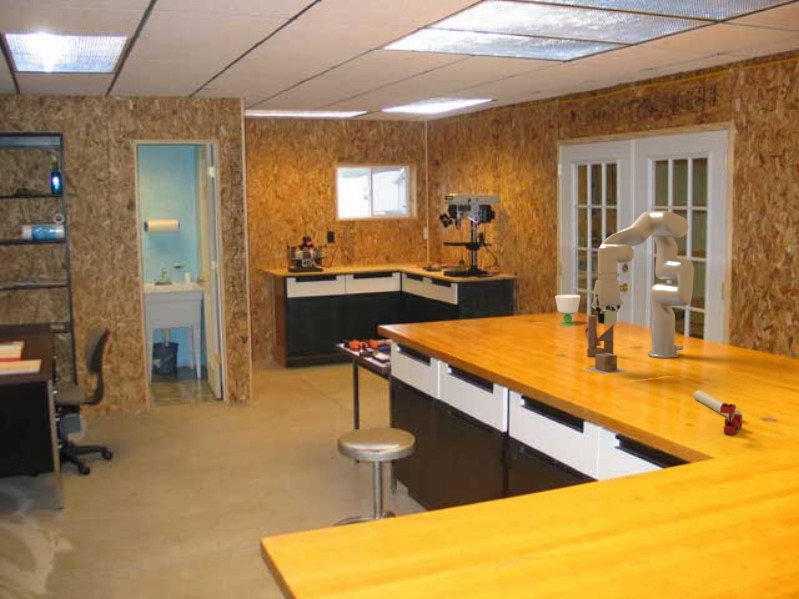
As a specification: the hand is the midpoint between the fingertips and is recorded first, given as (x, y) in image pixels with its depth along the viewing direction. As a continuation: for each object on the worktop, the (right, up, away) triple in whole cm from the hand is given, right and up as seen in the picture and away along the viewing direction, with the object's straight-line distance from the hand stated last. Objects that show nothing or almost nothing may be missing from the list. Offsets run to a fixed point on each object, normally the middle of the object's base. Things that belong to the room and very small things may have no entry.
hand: (607, 322), depth 329 cm
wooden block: (+5, -16, +34) cm, 38 cm away
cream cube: (0, -1, 0) cm, 1 cm away
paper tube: (+20, -27, -61) cm, 70 cm away
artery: (+12, -11, +81) cm, 83 cm away
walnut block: (0, -19, +2) cm, 19 cm away
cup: (+10, -5, +126) cm, 126 cm away
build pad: (0, -20, +2) cm, 20 cm away
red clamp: (+15, -30, -86) cm, 93 cm away
